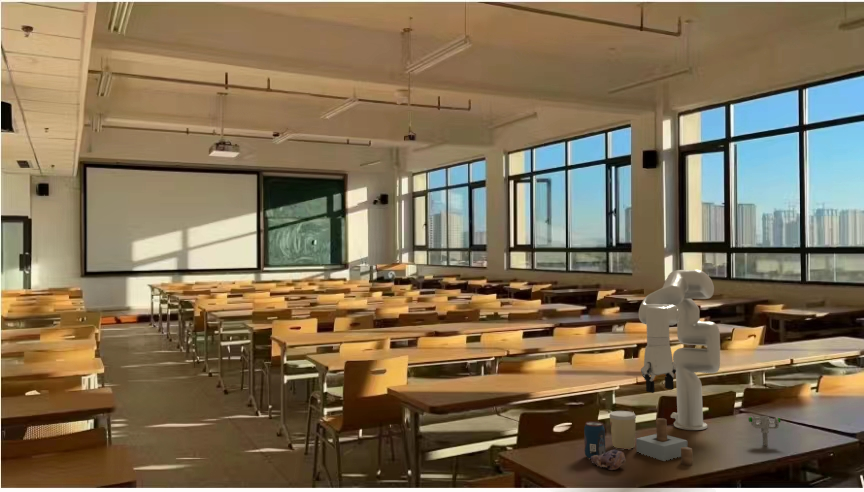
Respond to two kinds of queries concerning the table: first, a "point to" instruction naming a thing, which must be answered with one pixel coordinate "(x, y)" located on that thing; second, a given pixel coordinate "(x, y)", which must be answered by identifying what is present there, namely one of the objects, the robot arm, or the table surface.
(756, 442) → the table surface
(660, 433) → the long dowel
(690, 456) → the short dowel
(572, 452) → the table surface
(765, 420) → the mechanical component
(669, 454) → the hole block
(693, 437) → the table surface
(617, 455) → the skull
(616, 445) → the coffee cup
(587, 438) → the soda can
